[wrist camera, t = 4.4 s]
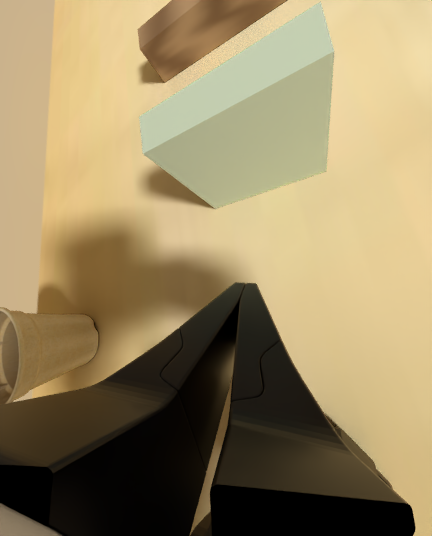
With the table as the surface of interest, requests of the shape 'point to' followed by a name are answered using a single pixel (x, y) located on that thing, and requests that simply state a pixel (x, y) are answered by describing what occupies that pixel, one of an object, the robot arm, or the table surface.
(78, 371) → the table surface
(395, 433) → the table surface
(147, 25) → the board
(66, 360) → the flower pot
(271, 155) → the bookend
